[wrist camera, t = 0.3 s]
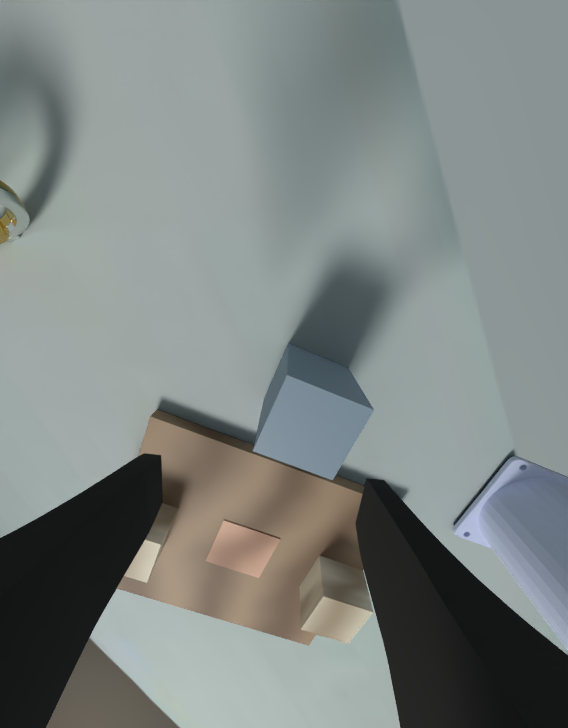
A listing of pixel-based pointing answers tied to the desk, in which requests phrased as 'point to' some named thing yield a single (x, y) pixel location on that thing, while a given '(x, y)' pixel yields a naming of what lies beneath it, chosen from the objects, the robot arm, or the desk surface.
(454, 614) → the robot arm
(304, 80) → the desk surface
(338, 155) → the desk surface
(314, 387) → the slate block
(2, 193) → the ring
